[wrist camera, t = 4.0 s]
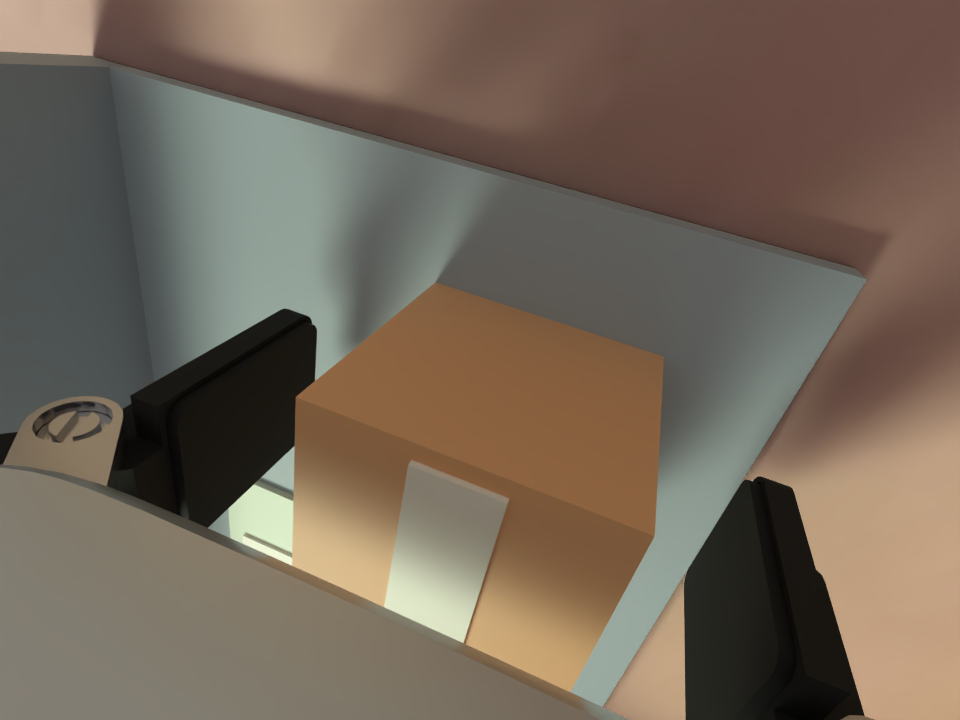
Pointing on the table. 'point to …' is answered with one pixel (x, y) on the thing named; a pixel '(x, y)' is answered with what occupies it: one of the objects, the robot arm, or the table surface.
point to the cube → (483, 476)
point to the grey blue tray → (371, 280)
